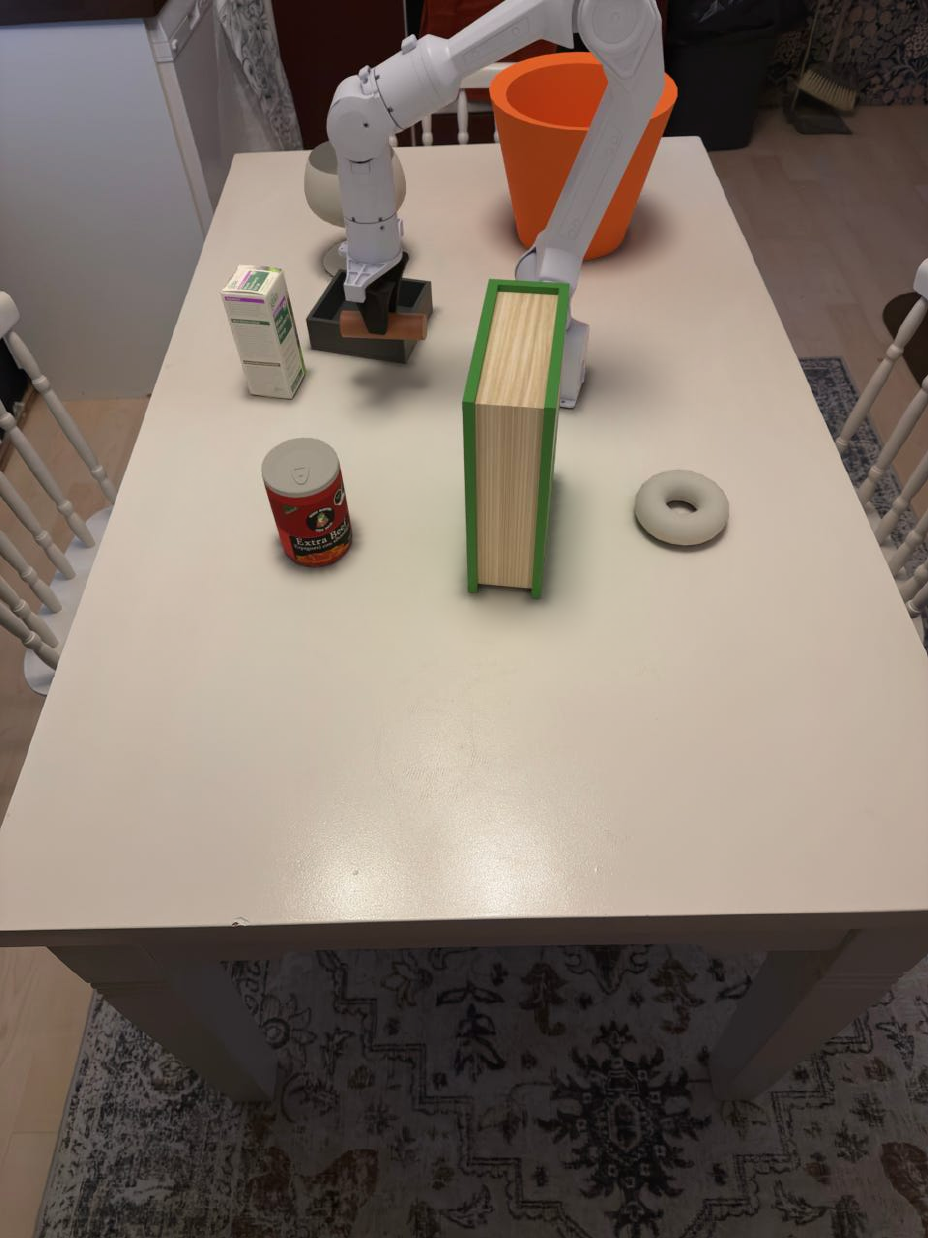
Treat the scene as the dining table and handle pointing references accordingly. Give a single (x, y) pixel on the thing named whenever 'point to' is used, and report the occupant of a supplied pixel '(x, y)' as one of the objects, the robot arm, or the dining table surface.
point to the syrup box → (264, 330)
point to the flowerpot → (564, 140)
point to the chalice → (337, 194)
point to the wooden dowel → (398, 326)
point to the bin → (333, 301)
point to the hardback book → (512, 431)
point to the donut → (681, 525)
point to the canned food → (308, 500)
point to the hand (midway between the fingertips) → (382, 323)
